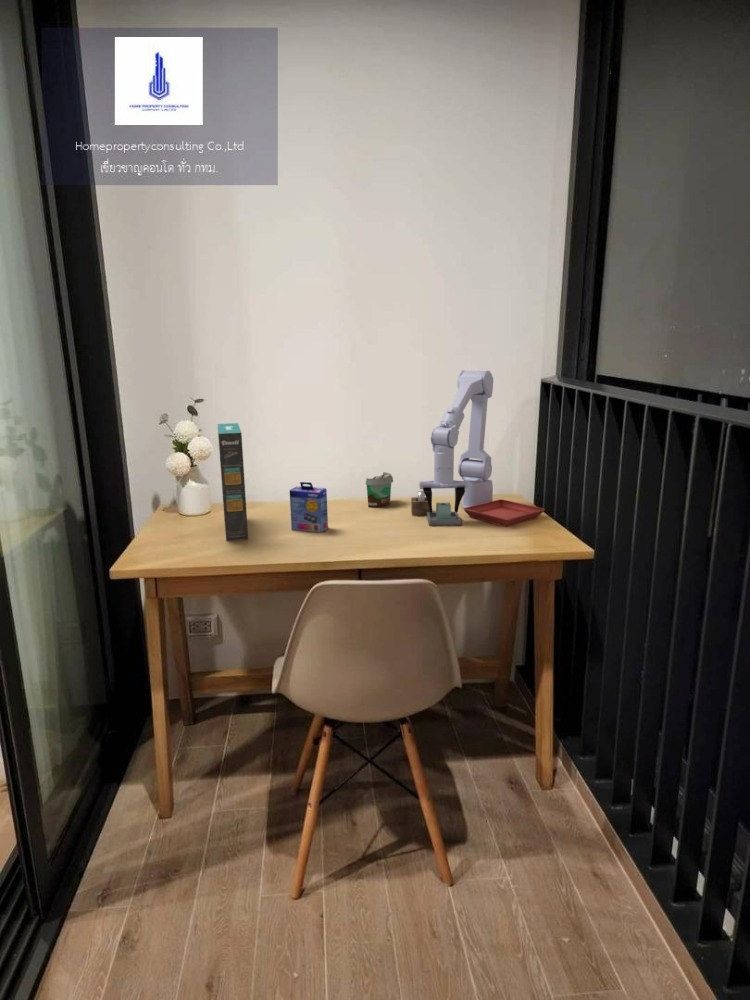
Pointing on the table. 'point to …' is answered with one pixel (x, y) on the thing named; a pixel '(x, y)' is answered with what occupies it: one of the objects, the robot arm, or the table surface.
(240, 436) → the cake mix box
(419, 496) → the steel pin
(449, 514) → the teal block
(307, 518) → the ink cartridge box
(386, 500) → the food container
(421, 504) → the walnut block
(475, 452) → the robot arm
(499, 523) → the plant saucer
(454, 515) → the tray
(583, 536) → the table surface
